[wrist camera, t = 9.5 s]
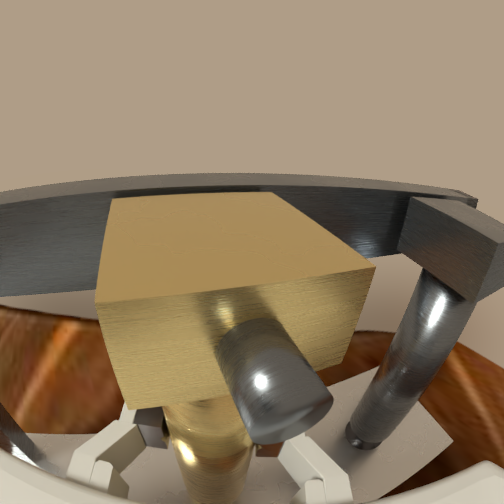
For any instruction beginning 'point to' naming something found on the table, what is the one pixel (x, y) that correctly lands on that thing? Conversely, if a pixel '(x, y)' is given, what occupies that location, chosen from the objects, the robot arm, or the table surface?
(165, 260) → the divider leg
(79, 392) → the table surface
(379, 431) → the grey metal frame
